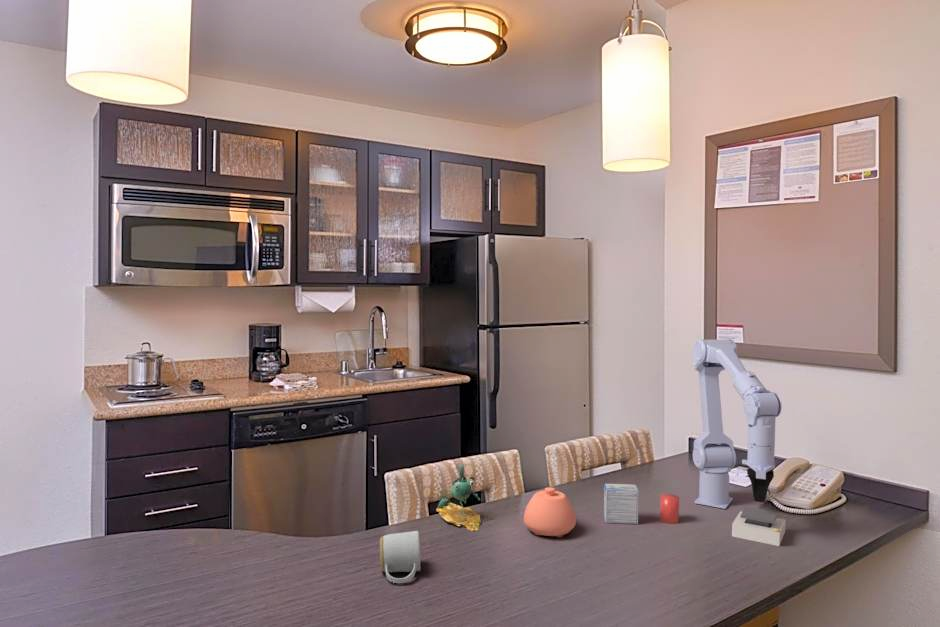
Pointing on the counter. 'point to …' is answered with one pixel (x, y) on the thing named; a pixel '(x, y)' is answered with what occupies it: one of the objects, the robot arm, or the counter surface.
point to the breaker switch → (759, 516)
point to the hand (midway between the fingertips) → (759, 501)
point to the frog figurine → (457, 512)
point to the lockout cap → (669, 508)
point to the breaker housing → (759, 531)
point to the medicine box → (621, 503)
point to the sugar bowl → (549, 513)
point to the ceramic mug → (400, 555)
